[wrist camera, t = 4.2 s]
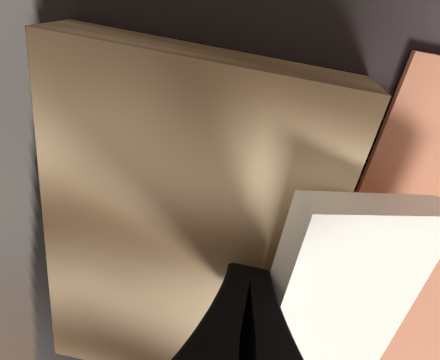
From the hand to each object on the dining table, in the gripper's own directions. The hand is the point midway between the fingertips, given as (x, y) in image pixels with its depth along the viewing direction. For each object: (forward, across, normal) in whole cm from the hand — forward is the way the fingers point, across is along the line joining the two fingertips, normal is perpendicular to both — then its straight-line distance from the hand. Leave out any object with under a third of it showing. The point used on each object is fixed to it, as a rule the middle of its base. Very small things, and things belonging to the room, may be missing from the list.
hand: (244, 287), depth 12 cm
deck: (+3, +2, 0) cm, 4 cm away
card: (+1, -3, 0) cm, 3 cm away
